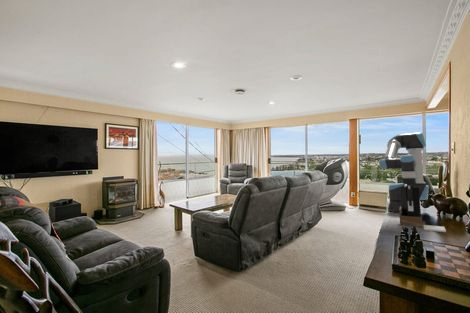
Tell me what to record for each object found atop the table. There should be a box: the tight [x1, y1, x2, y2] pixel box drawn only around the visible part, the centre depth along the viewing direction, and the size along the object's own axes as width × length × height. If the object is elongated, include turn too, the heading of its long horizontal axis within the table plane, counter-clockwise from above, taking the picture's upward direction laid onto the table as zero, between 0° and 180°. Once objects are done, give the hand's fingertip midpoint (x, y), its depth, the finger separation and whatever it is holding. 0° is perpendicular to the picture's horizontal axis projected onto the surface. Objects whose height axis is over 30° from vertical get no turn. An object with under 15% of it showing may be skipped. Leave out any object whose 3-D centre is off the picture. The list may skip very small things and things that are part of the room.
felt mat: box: [423, 224, 447, 233], centre depth 146 cm, size 10×10×1 cm
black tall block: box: [400, 186, 422, 217], centre depth 161 cm, size 8×8×28 cm
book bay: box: [398, 207, 424, 228], centre depth 161 cm, size 13×12×10 cm
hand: (410, 209), depth 161 cm, fingers open, 13 cm apart
